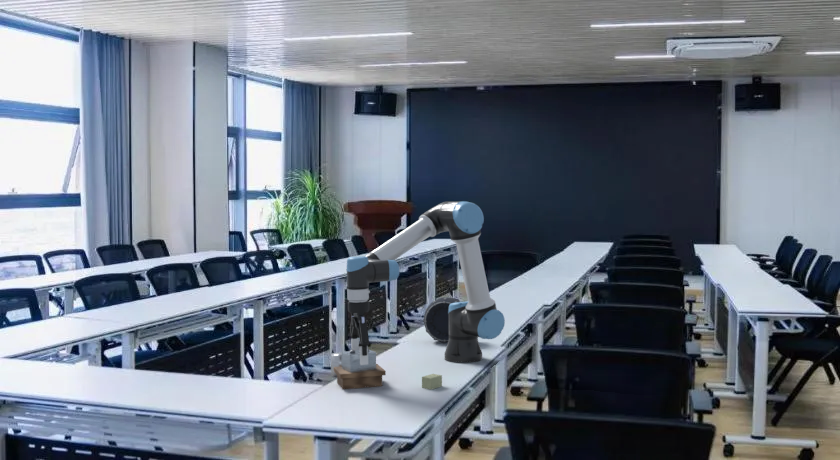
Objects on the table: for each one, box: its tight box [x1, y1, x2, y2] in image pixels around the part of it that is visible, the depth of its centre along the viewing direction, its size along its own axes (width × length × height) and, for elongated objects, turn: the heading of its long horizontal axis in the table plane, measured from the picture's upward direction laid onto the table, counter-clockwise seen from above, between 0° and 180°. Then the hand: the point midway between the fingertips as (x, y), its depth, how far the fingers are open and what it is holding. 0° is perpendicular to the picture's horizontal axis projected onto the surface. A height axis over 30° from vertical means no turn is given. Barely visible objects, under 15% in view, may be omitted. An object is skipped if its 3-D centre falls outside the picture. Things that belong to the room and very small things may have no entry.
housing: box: [341, 348, 377, 373], centre depth 295 cm, size 10×7×7 cm
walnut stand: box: [334, 363, 387, 390], centre depth 295 cm, size 16×12×6 cm
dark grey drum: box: [422, 296, 461, 344], centre depth 372 cm, size 11×20×20 cm, turn 78°
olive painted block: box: [421, 373, 443, 390], centre depth 290 cm, size 6×4×4 cm, turn 139°
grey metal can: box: [330, 351, 342, 378], centre depth 309 cm, size 6×6×8 cm
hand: (359, 360), depth 295 cm, fingers open, 13 cm apart
